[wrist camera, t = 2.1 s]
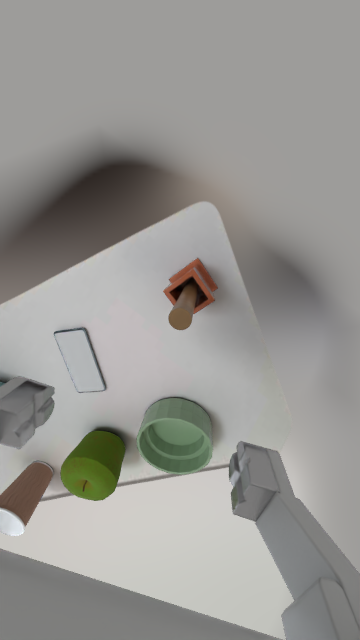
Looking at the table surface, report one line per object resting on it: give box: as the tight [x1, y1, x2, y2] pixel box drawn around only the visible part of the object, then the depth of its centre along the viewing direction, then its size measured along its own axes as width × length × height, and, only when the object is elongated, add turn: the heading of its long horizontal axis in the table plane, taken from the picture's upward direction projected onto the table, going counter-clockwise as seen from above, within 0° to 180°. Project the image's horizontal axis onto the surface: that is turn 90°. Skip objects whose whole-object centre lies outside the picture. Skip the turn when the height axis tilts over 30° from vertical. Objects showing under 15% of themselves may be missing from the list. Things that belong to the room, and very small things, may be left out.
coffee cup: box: [0, 461, 53, 536], centre depth 52 cm, size 10×10×12 cm
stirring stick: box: [169, 278, 199, 330], centre depth 26 cm, size 2×2×18 cm
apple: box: [60, 431, 126, 501], centre depth 45 cm, size 12×12×11 cm
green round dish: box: [136, 398, 213, 475], centre depth 43 cm, size 15×15×6 cm
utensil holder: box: [163, 258, 218, 314], centre depth 30 cm, size 6×6×10 cm
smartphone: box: [54, 328, 105, 393], centre depth 43 cm, size 7×1×15 cm
